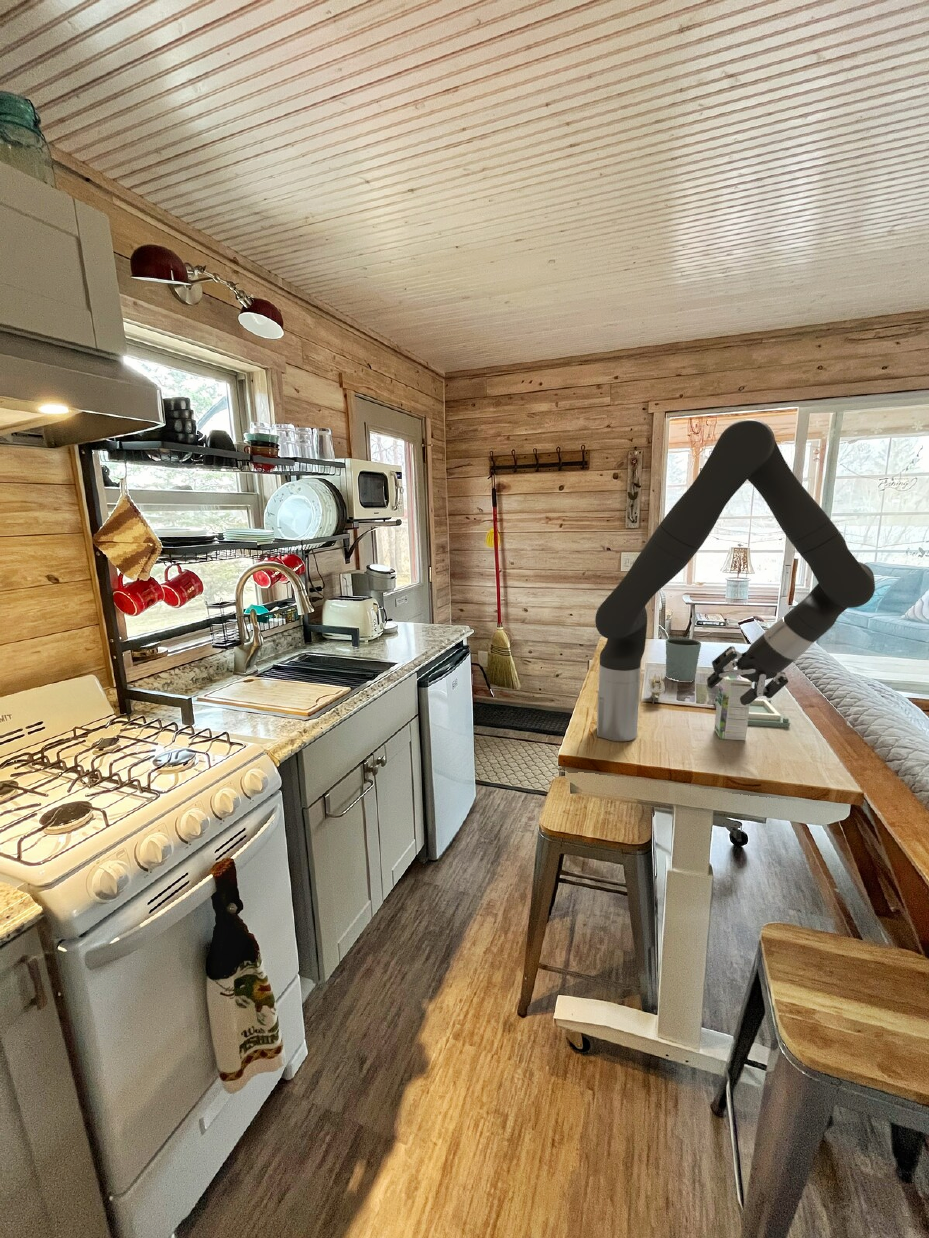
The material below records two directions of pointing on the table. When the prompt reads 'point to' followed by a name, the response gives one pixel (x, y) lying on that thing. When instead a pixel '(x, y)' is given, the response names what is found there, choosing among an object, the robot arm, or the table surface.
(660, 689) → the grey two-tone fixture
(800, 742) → the table surface
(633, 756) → the table surface
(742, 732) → the syrup box
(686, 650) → the grey-green cup
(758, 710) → the baseplate
